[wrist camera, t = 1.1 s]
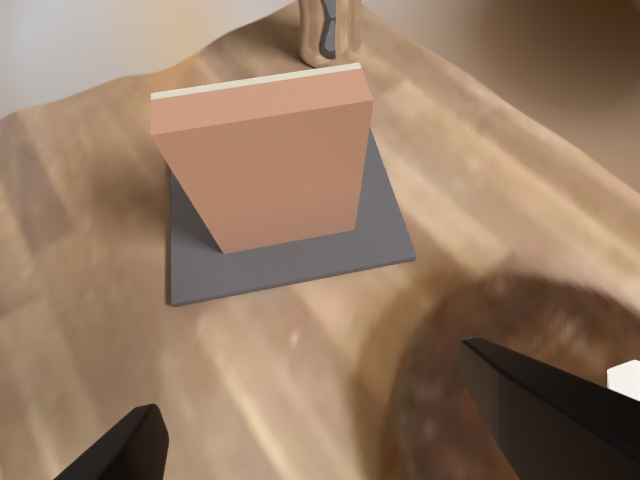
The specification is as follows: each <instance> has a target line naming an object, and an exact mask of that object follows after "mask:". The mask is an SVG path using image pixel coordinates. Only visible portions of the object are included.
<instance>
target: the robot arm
mask: <svg viewBox="0 0 640 480" xmlns="http://www.w3.org/2000/svg"><path fill="white" fill-rule="evenodd" d="M459 356H460V373H461V377H462V379H463V382H464V384H465V385H466V387H467V389H468V391H469V393H470V395H471V397H472V399H473V401H474V402H475V404H476V406H477V408H478V410H479V412H480V414H481V416H482V417H483V419H484V421H485V423H486V425H487V427H488V429H489V431H490V432H491V434H492V436H493V438H494V440H495V441H496V443H497V445H498V447H499V448H500V450H501V452H502V453H503V455H504V456H505V458H506V459H507V461H508V462H509V464H510V465H511V467H512V468H513V470H514V471H515V473H516V474H517V476H518V477H519V479H520V480H640V401H638V400H636V399H633V398H631V397H628V396H626V395H623V394H621V393H619V392H616V391H614V390H611V389H609V388H606V387H604V386H601V385H599V384H596V383H594V382H591V381H589V380H586V379H584V378H581V377H579V376H576V375H574V374H571V373H569V372H566V371H564V370H561V369H559V368H556V367H554V366H551V365H549V364H546V363H544V362H542V361H539V360H537V359H534V358H532V357H529V356H527V355H524V354H522V353H519V352H517V351H514V350H512V349H509V348H507V347H504V346H502V345H499V344H497V343H494V342H492V341H489V340H487V339H484V338H482V337H479V336H476V337H471V338H466V339H462V340H461V341H460V344H459ZM168 447H169V435H168V431H167V428H166V426H165V423H164V420H163V417H162V415H161V412H160V409H159V407H158V406H157V405H156V404H148V405H143V406H139V407H136V408H134V409H133V410H131V411H130V412H129V413H128V414H127V415H126V416H125V417H124V418H122V419H121V420H120V421H119V422H118V423H117V424H116V425H114V426H113V427H112V428H111V429H110V430H109V431H108V432H107V433H105V434H104V435H103V436H102V437H101V438H100V439H99V440H98V441H96V442H95V443H94V444H93V445H92V446H91V447H90V448H88V449H87V450H86V451H85V452H84V453H83V454H82V455H81V456H79V457H78V458H77V459H76V460H75V461H74V462H73V463H72V464H70V465H69V466H68V467H67V468H66V469H65V470H64V471H62V472H61V473H60V474H59V475H58V476H57V477H56V478H55V479H53V480H163V476H164V470H165V464H166V458H167V452H168Z"/></svg>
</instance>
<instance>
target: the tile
mask: <svg viewBox="0 0 640 480" xmlns="http://www.w3.org/2000/svg"><path fill="white" fill-rule="evenodd" d="M373 101H374V100H373V97H372V94H371V92H370V89H369V87H368V84H367V81H366V79H365V76H364V74H363V71H362V68H361V66H360V63H359V62H358V63H352V64H345V65H338V66H331V67H325V68H318V69H311V70H304V71H298V72H291V73H284V74H278V75H271V76H264V77H257V78H251V79H244V80H237V81H231V82H224V83H217V84H210V85H204V86H197V87H190V88H184V89H177V90H170V91H163V92H157V93H151V112H150V136H151V138H152V140H153V141H154V143H155V145H156V146H157V148H158V149H159V151H160V153H161V154H162V156H163V157H164V159H165V161H166V162H167V164H168V165H169V167H170V169H171V170H172V172H173V173H174V175H175V177H176V178H177V180H178V181H179V183H180V185H181V186H182V188H183V189H184V191H185V193H186V194H187V196H188V197H189V199H190V201H191V202H192V204H193V206H194V207H195V209H196V210H197V212H198V214H199V215H200V217H201V218H202V220H203V222H204V223H205V225H206V226H207V228H208V230H209V231H210V233H211V234H212V236H213V238H214V239H215V241H216V242H217V244H218V246H219V247H220V249H221V250H222V252H223V254H227V253H233V252H238V251H243V250H249V249H254V248H260V247H265V246H270V245H276V244H281V243H287V242H292V241H298V240H303V239H308V238H314V237H319V236H325V235H330V234H335V233H341V232H346V231H352V230H355V224H356V218H357V211H358V204H359V197H360V190H361V183H362V177H363V170H364V163H365V156H366V149H367V142H368V135H369V129H370V122H371V115H372V108H373Z"/></svg>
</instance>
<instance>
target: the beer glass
mask: <svg viewBox="0 0 640 480" xmlns="http://www.w3.org/2000/svg"><path fill="white" fill-rule="evenodd" d="M298 4H299V13H300V27H299V36H298V53H299V56H300V58H301V59H302V60H303V61H304V62H305V63H307V64H308V65H310V66H312V67H315V68H325V67H331V66H338V65H345V64H351V63H353V62H354V61H355V60H356V59H357V58H358V56H359V54H360V51H361V39H360V29H359V12H360V4H361V0H298Z"/></svg>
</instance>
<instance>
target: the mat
mask: <svg viewBox="0 0 640 480" xmlns="http://www.w3.org/2000/svg"><path fill="white" fill-rule="evenodd" d="M170 176H171V305H173V306H174V307H178V306H183V305H188V304H193V303H198V302H203V301H208V300H214V299H219V298H224V297H229V296H234V295H239V294H244V293H250V292H255V291H260V290H265V289H270V288H275V287H280V286H286V285H291V284H296V283H301V282H306V281H311V280H316V279H322V278H327V277H332V276H337V275H342V274H347V273H353V272H358V271H363V270H368V269H373V268H378V267H383V266H389V265H394V264H399V263H404V262H409V261H414V260H415V259H416V254H415V251H414V248H413V245H412V243H411V240H410V237H409V234H408V232H407V229H406V226H405V223H404V220H403V218H402V215H401V212H400V209H399V206H398V204H397V201H396V198H395V195H394V193H393V190H392V187H391V184H390V181H389V179H388V176H387V173H386V170H385V167H384V165H383V162H382V159H381V156H380V154H379V151H378V148H377V145H376V142H375V140H374V137H373V134H372V131H371V129H369V135H368V142H367V149H366V156H365V163H364V170H363V177H362V183H361V190H360V197H359V204H358V211H357V218H356V224H355V230H352V231H346V232H341V233H335V234H330V235H325V236H319V237H314V238H308V239H303V240H298V241H292V242H287V243H281V244H276V245H270V246H265V247H260V248H254V249H249V250H243V251H238V252H233V253H227V254H223V252H222V250H221V249H220V247H219V246H218V244H217V242H216V241H215V239H214V238H213V236H212V234H211V233H210V231H209V230H208V228H207V226H206V225H205V223H204V222H203V220H202V218H201V217H200V215H199V214H198V212H197V210H196V209H195V207H194V206H193V204H192V202H191V201H190V199H189V197H188V196H187V194H186V193H185V191H184V189H183V188H182V186H181V185H180V183H179V181H178V180H177V178H176V177H175V175H174V173H173V172H172V170H171V169H170Z"/></svg>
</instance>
